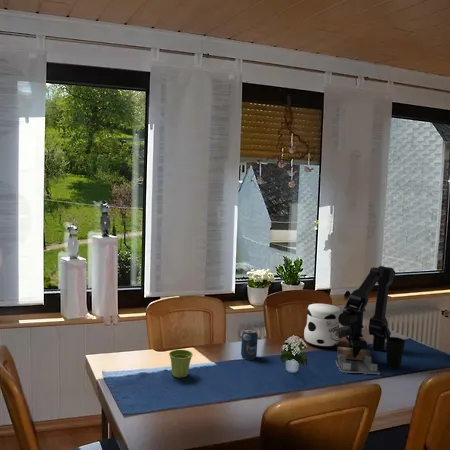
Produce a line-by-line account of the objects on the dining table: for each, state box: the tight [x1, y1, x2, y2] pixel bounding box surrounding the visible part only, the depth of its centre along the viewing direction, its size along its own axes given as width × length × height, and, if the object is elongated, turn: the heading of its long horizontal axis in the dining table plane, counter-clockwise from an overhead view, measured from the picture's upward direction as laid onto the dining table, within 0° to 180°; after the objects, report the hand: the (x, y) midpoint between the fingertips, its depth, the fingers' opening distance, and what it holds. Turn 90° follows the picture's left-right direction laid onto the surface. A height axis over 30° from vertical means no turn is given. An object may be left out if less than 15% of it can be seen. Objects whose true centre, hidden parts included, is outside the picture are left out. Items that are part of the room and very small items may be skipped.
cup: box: [385, 336, 406, 369], centre depth 221 cm, size 8×8×12 cm
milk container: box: [303, 303, 341, 348], centre depth 246 cm, size 17×17×18 cm
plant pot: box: [168, 349, 194, 379], centre depth 201 cm, size 9×9×9 cm
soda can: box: [240, 328, 259, 361], centre depth 224 cm, size 7×7×12 cm
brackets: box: [335, 355, 381, 376], centre depth 217 cm, size 12×16×4 cm
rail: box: [336, 346, 371, 362], centre depth 228 cm, size 14×4×4 cm, turn 78°
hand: (353, 355), depth 228 cm, fingers closed on rail, 4 cm apart
